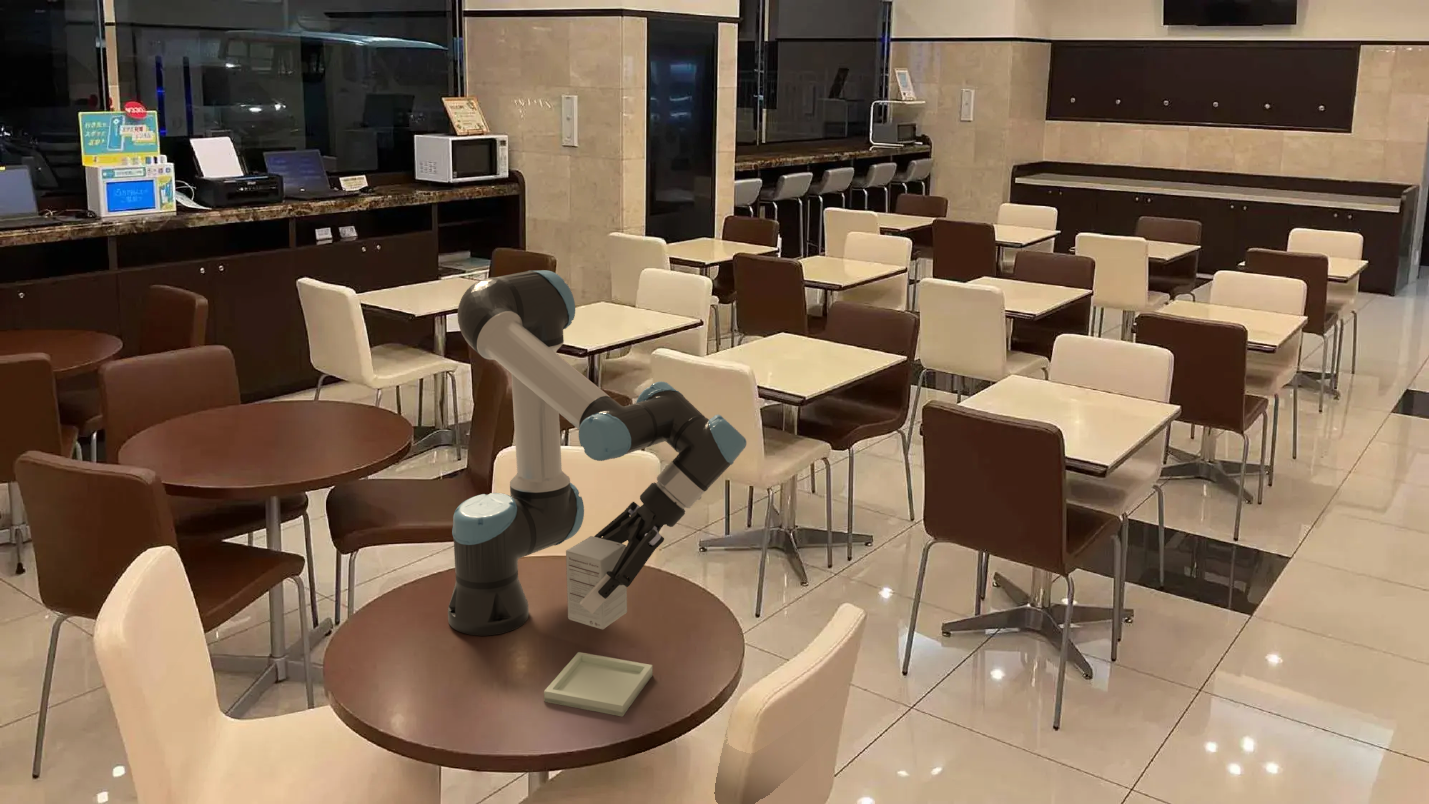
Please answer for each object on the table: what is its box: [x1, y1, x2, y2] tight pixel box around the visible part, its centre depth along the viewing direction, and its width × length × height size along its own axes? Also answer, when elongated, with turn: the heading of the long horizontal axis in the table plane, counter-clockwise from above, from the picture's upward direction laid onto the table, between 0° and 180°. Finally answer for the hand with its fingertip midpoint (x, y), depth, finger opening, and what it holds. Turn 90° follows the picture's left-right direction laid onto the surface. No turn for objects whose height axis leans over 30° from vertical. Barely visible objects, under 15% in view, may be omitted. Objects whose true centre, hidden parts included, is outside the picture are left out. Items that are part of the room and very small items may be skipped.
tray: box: [543, 651, 653, 717], centre depth 201 cm, size 14×14×2 cm
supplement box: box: [565, 535, 628, 630], centre depth 195 cm, size 7×7×13 cm
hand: (579, 594), depth 195 cm, fingers closed on supplement box, 10 cm apart
